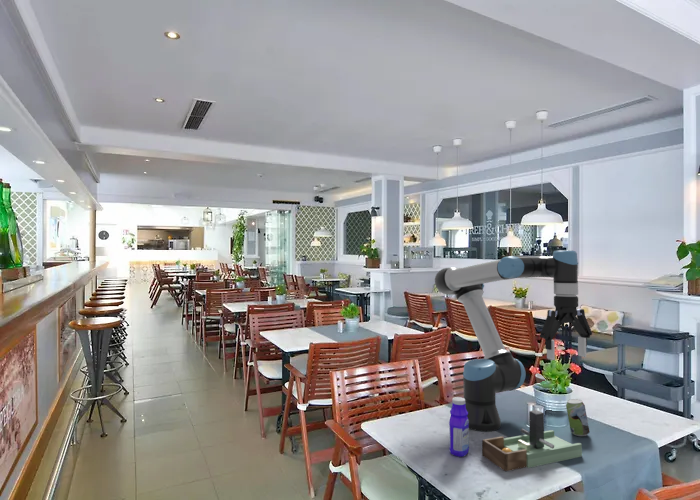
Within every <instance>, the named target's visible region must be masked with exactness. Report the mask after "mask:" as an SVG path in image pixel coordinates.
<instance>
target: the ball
mask: <svg viewBox="0 0 700 500" xmlns="http://www.w3.org/2000/svg"><path fill="white" fill-rule="evenodd" d="M502 451H504V452H505V453H507V452H512V451H511V449H509V448H503V449H502Z"/></svg>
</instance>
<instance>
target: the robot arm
mask: <svg viewBox="0 0 700 500" xmlns="http://www.w3.org/2000/svg"><path fill="white" fill-rule="evenodd" d="M578 266H579V262H578V253H577V251H575V250H553V253H552V256H536V255H535V256H532V255H531V256H517V255H516V256H515V255H509V256H504V257H502V258H500V259H497V260H493V261H489V262H488V261H487V262H484V263H483V262H482V263H479V264H478V263H477V264H474V265H469V266H468V265H467V266H465V267H445V268H441V269H440V270H438V272H437V273H436V274H435V278H434V284H435V287H436V290H438V291H439V292H440V293H442V294H444V295H450V296H453V295H455V297H456V300H457V302H459V303H461V304H462V305H463V307H464V309H465V313H466V315H467V317H468V320H469V321H470V322H469V323H470V324H471V327H472V329H473V332H474V333H475V337H476V338H477V341H478V344H479V346H480V349H481V351H482V353H483V356H484V357H483V358H474V359H470V360H468V361H466V362H465V363H464V366H463V372H462V376H463V377H462V378H463V398H464V399H465V406H466V410H467V412H468V415H467V417H468V420H469V430H474V431H477V432H478V431H480V432H492V431H497V430H498V429H500V428H501V417H500V414H499V411H498V408H497V405H496V404H497V403H496V397H497V396H496V394H500V393H503V392H508V391H509V392H511V391H513V390H516V389H519V388H521V387H522V386H523V385H524V383H525V379H526V374H527V373H526V368H525V367H524V365H523V363H522V362H521V361H520V360H519V359H517V358H514V357H513V355H512V352H511V351H509V350H507V349H506V347H505V346H504V344H503V341H502V339H501V337H500V334H499V332H498V330H497V327H496V325H495V322H494V321H493V318H492V316H491V314H490V312H489V310H488V307H487V305H486V303H485V300H484V298H483V295H484V292H485V290H484V288H485V284H488V283H494V282H500V281H506V280H513V279H523V278H526V279H527V278H552V279H553V294H554V296H553V306H554V307H555V309H554V310H552V309H548V310H547V313H546V318H545V321H544V323H543V326H542V329H541V332H540V335H539V337H540V338H542V339H543V340H544V341H545V344H544V345H545V349H546V359H548V360H551V361H555V360H556V359H555V358H556V353H555V352H556V351H555V348H556V347H555V344H556V343H555V339H554V337H555V336H556V334H557V333H558V331H559V330H560V328H561V326H563V325H564V324H568V323H570V324H571V326H572V327H573V328H574V329H575V331H576V333H577V334H578V335H579V336H578V337H577V351H578V353H577V356H578V357H583V358H587V347H588V339H589V338H590V337H591V336H592V335H593V332H592V330H591V327H590V324H589V322H588V320H587V317H586V312H585V309H583V308H578V307H579V297H578V295H579V282H578V279H579V278H578V276H579V275H578V273H579V272H578V271H579V270H578V269H579V267H578Z"/></svg>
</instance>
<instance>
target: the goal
mask: <svg viewBox="0 0 700 500" xmlns="http://www.w3.org/2000/svg"><path fill="white" fill-rule="evenodd" d="M481 442H482V443H481V445H482V446H481V447H482V448H481V451H482V452H481V454H482V455H481V456H482V457H484V459H487V460H488V461H489V462H491V463H492V464H494V465H495V466H497V467H499V468H500V469H502V470H503V471H505V472H509V471H514V470H519V469H523V468H527V450H525V449H523V450H518V451H512V452H507V453H505V452H504V451H502V449H503V448H504V436H502V435H501V436H495V437H490V438H485V439H482V440H481Z"/></svg>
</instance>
